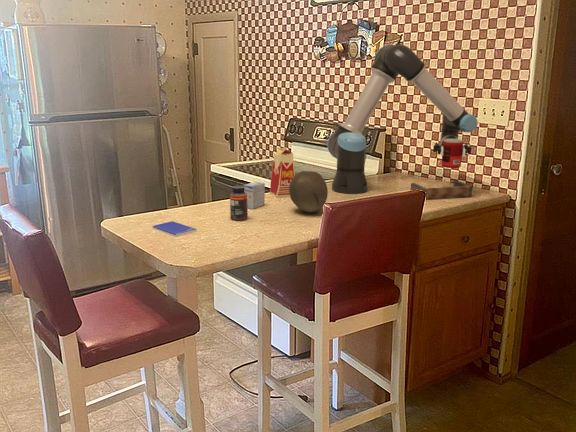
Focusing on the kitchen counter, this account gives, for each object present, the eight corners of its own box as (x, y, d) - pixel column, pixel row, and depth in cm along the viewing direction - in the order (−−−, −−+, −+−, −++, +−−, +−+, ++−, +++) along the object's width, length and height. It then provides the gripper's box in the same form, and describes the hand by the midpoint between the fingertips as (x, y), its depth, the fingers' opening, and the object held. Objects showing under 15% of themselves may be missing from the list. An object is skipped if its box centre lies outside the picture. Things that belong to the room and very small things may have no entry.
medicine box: (255, 203, 218) (255, 181, 216) (264, 205, 216) (265, 182, 213) (243, 207, 211) (243, 184, 209) (253, 209, 209) (253, 186, 207)
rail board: (423, 200, 228) (424, 189, 226) (410, 193, 238) (411, 183, 237) (471, 197, 234) (472, 186, 233) (456, 191, 244) (457, 180, 243)
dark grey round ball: (330, 208, 212) (332, 169, 208) (322, 218, 199) (323, 176, 195) (293, 205, 216) (294, 166, 212) (283, 215, 202) (284, 173, 198)
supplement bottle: (244, 215, 201) (244, 184, 198) (249, 220, 196) (249, 187, 192) (228, 217, 199) (227, 185, 196) (232, 221, 193) (232, 189, 190)
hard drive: (196, 228, 182) (173, 220, 190) (175, 233, 176) (152, 225, 184) (196, 233, 182) (173, 225, 190) (175, 238, 176) (152, 230, 185)
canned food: (463, 166, 237) (465, 139, 234) (457, 169, 230) (460, 141, 227) (444, 164, 240) (447, 138, 238) (438, 167, 234) (441, 140, 231)
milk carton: (297, 196, 230) (299, 146, 225) (276, 197, 227) (277, 147, 222) (289, 191, 238) (290, 143, 233) (268, 192, 235) (269, 144, 230)
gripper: (474, 154, 249) (479, 163, 228) (425, 151, 254) (426, 160, 232) (475, 136, 247) (481, 144, 226) (426, 134, 251) (427, 142, 230)
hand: (453, 152), depth 229 cm, fingers closed on canned food, 8 cm apart
